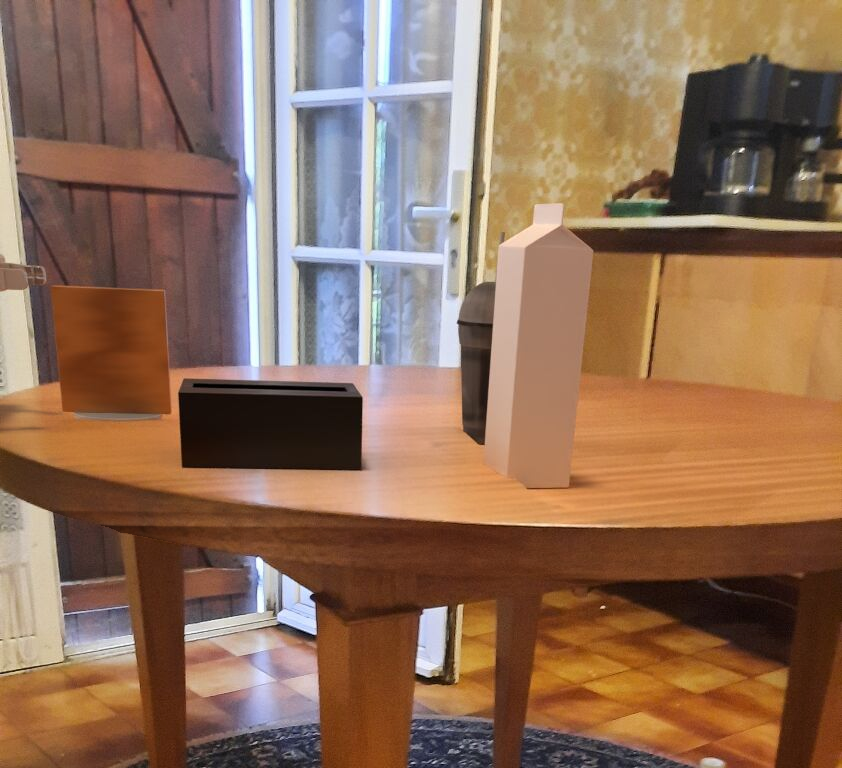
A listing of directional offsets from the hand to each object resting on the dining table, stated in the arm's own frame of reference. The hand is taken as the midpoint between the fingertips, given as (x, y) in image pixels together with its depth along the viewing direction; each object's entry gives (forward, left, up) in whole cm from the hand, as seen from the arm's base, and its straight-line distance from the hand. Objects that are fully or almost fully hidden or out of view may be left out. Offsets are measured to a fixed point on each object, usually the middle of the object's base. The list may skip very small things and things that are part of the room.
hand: (36, 277), depth 105 cm
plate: (+7, -1, -14) cm, 15 cm away
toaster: (+17, -27, -14) cm, 35 cm away
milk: (+38, -35, -14) cm, 53 cm away
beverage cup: (+43, -15, -14) cm, 47 cm away
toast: (+7, -1, -13) cm, 14 cm away
